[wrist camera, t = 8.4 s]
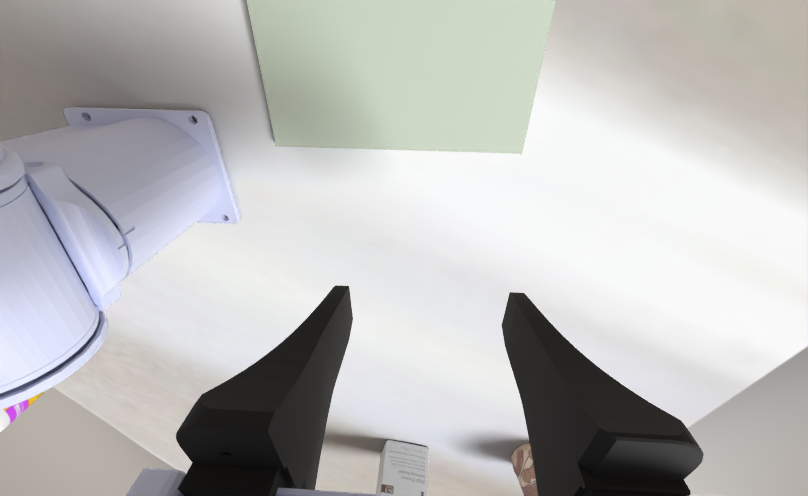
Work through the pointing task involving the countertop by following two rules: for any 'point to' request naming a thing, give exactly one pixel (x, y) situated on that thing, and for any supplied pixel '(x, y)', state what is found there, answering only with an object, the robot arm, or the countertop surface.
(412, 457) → the skincare box
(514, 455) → the figurine
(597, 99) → the countertop surface
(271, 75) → the mat
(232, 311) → the countertop surface
